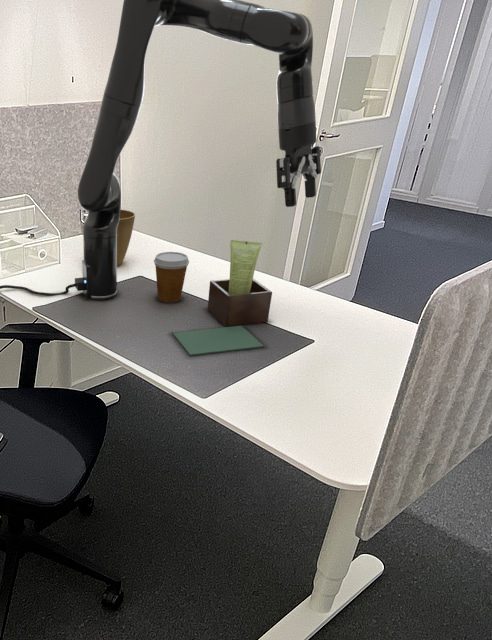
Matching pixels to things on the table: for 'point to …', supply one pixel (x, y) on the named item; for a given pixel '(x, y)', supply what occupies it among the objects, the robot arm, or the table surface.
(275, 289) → the table surface
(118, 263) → the plant pot
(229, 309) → the box
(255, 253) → the tube
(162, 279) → the disposable coffee cup
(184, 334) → the felt mat
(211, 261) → the table surface
